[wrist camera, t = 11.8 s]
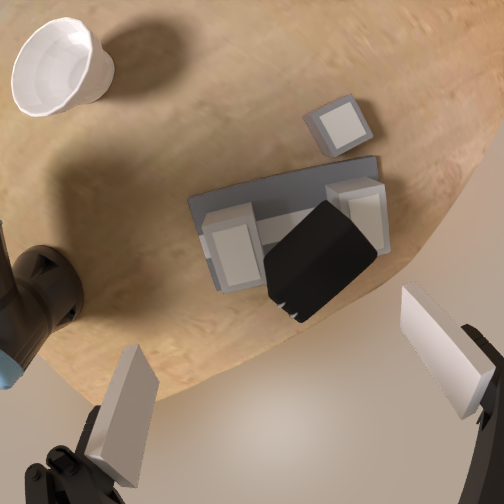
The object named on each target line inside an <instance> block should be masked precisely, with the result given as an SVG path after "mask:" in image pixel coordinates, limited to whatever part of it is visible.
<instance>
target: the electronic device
mask: <svg viewBox="0 0 504 504" xmlns="http://www.w3.org/2000/svg"><path fill="white" fill-rule="evenodd" d="M377 255H378V253H377V250H376V249H375V248H374V247H373V245H372V244H371V243H370V242H369V241H368V239H367V238H366V237H365V236H364V235H363V233H362V232H361V231H360V230H359V229H358V227H357V226H356V225H355V224H354V223H353V222H352V220H350V219H349V218H348V217H347V216H346V215H344V214H343V213H342V212H341V211H340V210H339V209H337V208H336V207H335V206H334V205H332V204H331V203H330V202H329V201H328V200H324V201H322V202H321V203H320V204H319V205H318V206H316V207H315V208H314V209H313V210H312V211H311V212H310V213H309V214H308V215H307V216H306V217H305V218H304V219H303V220H302V221H301V222H300V223H299V224H298V225H297V226H295V227H294V228H293V229H292V230H291V231H290V232H289V233H288V234H287V235H286V236H285V237H284V238H283V239H282V240H281V241H280V242H279V243H278V244H276V245H275V246H274V247H273V248H272V249H271V250H270V251H269V252H268V253H267V254H266V255H265V257H264V259H263V263H264V270H265V276H266V282H267V288H268V294H269V297H270V299H272V300H273V301H274V302H275V303H276V304H277V306H278V308H279V309H280V308H282V309H283V310H285V311H286V312H287V313H288V314H289V315H290V318H291V319H292V318H294V319H295V320H297V321H298V322H299V323H303V322H304V321H306V320H307V319H309V318H310V317H311V316H312V315H314V314H315V313H316V312H317V311H318V310H319V309H321V308H322V307H323V306H324V305H325V304H327V303H328V302H329V301H330V300H331V299H332V298H334V297H335V296H336V295H337V294H338V293H339V292H340V291H342V290H343V289H344V288H345V287H346V286H347V285H348V284H349V283H351V282H352V281H353V280H354V279H355V278H356V277H357V276H358V275H359V274H361V273H362V272H363V271H364V270H365V269H366V268H367V267H368V266H369V265H370V264H371V263H373V262H374V260H375V259H376V258H377Z"/></svg>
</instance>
